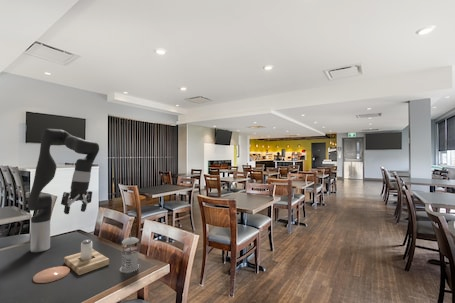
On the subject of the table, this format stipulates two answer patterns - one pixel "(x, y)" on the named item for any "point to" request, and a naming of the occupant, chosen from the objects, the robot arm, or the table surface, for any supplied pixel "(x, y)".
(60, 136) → the robot arm
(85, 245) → the pepper mill
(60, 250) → the table surface
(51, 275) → the terracotta plate
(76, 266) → the mill caddy
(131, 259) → the french press
